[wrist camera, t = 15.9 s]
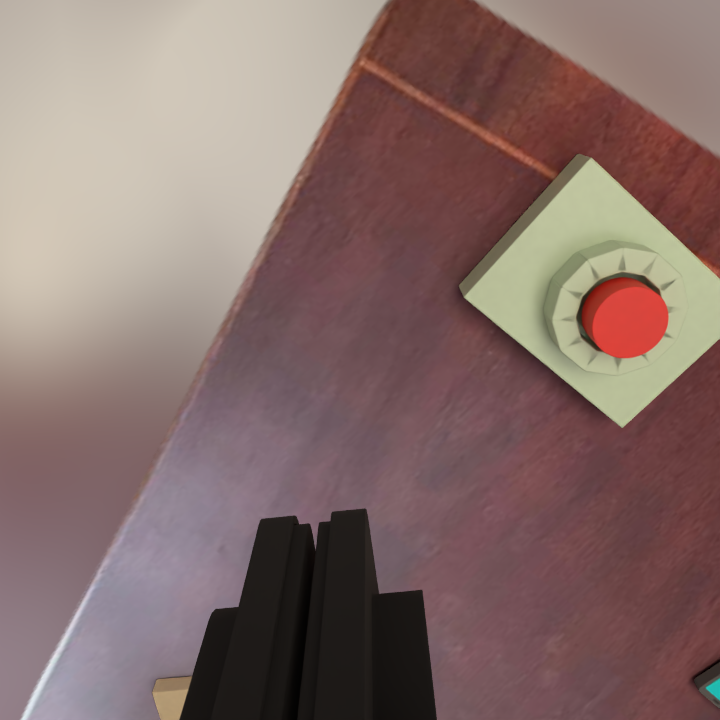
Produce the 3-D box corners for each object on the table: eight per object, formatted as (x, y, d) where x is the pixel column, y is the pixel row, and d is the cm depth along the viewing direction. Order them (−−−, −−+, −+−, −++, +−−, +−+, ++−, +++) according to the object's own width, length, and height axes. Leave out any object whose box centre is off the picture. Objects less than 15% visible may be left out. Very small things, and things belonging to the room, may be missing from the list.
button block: (457, 285, 37) (468, 307, 33) (577, 152, 34) (603, 160, 30) (609, 411, 40) (634, 444, 36) (731, 297, 37) (771, 320, 33)
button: (565, 316, 34) (576, 328, 32) (619, 262, 32) (633, 271, 31) (615, 359, 34) (627, 372, 33) (669, 307, 33) (685, 318, 32)
